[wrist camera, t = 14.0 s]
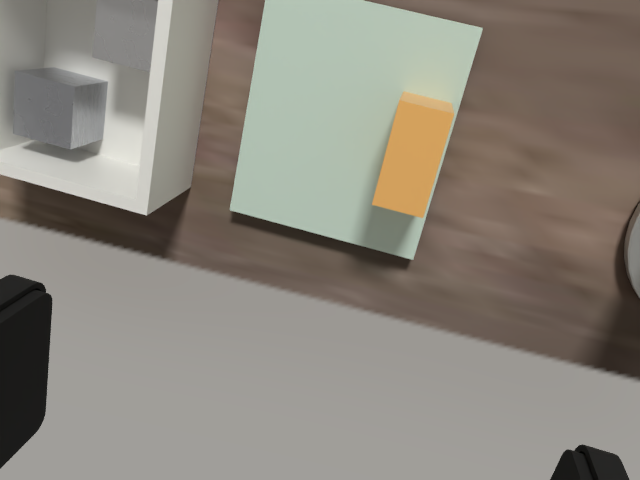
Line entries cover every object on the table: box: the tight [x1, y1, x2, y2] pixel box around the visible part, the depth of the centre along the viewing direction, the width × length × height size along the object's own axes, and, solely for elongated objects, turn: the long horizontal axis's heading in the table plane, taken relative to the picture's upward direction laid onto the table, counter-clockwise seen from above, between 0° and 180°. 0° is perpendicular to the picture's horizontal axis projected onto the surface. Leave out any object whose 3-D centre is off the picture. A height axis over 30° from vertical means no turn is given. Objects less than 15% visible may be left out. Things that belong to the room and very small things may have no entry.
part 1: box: [13, 67, 108, 150], centre depth 39 cm, size 4×4×4 cm
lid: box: [230, 0, 483, 260], centre depth 36 cm, size 13×15×7 cm
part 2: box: [92, 0, 158, 72], centre depth 36 cm, size 4×4×4 cm
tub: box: [0, 0, 218, 215], centre depth 37 cm, size 12×14×7 cm
